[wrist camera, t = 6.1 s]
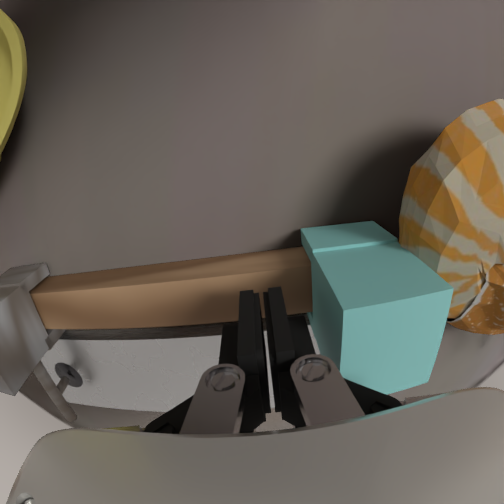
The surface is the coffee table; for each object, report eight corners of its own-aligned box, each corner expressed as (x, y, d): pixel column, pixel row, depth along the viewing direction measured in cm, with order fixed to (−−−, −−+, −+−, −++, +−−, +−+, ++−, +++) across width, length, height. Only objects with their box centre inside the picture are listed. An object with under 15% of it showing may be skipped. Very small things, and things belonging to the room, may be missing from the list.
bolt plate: (31, 329, 18) (23, 337, 17) (371, 303, 17) (378, 313, 16) (67, 392, 20) (61, 401, 19) (361, 380, 20) (366, 392, 18)
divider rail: (13, 266, 16) (-56, 321, 9) (391, 217, 15) (480, 277, 8) (69, 385, 20) (34, 451, 13) (375, 368, 19) (413, 451, 12)
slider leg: (300, 228, 15) (343, 305, 8) (372, 220, 15) (454, 283, 8) (306, 385, 19) (325, 475, 12) (360, 375, 19) (393, 458, 12)
